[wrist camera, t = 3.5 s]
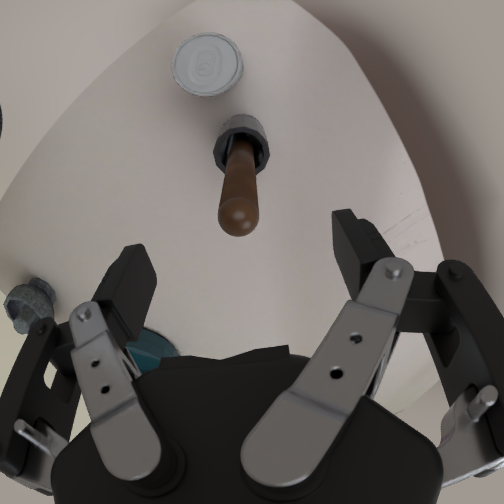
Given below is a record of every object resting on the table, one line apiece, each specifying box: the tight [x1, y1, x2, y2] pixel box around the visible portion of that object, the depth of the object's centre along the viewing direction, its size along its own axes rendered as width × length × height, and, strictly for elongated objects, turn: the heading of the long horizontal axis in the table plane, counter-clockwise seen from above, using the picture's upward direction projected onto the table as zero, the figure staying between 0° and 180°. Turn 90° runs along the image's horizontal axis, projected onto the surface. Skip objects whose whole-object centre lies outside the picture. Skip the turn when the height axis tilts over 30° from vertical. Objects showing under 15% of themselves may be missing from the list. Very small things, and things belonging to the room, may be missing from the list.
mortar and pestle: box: [3, 278, 56, 334], centre depth 38 cm, size 11×9×12 cm
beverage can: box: [172, 33, 243, 97], centre depth 21 cm, size 5×5×12 cm
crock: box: [213, 114, 270, 175], centre depth 27 cm, size 5×5×8 cm
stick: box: [218, 132, 259, 237], centre depth 22 cm, size 2×2×20 cm
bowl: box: [126, 329, 179, 374], centre depth 49 cm, size 15×15×5 cm
